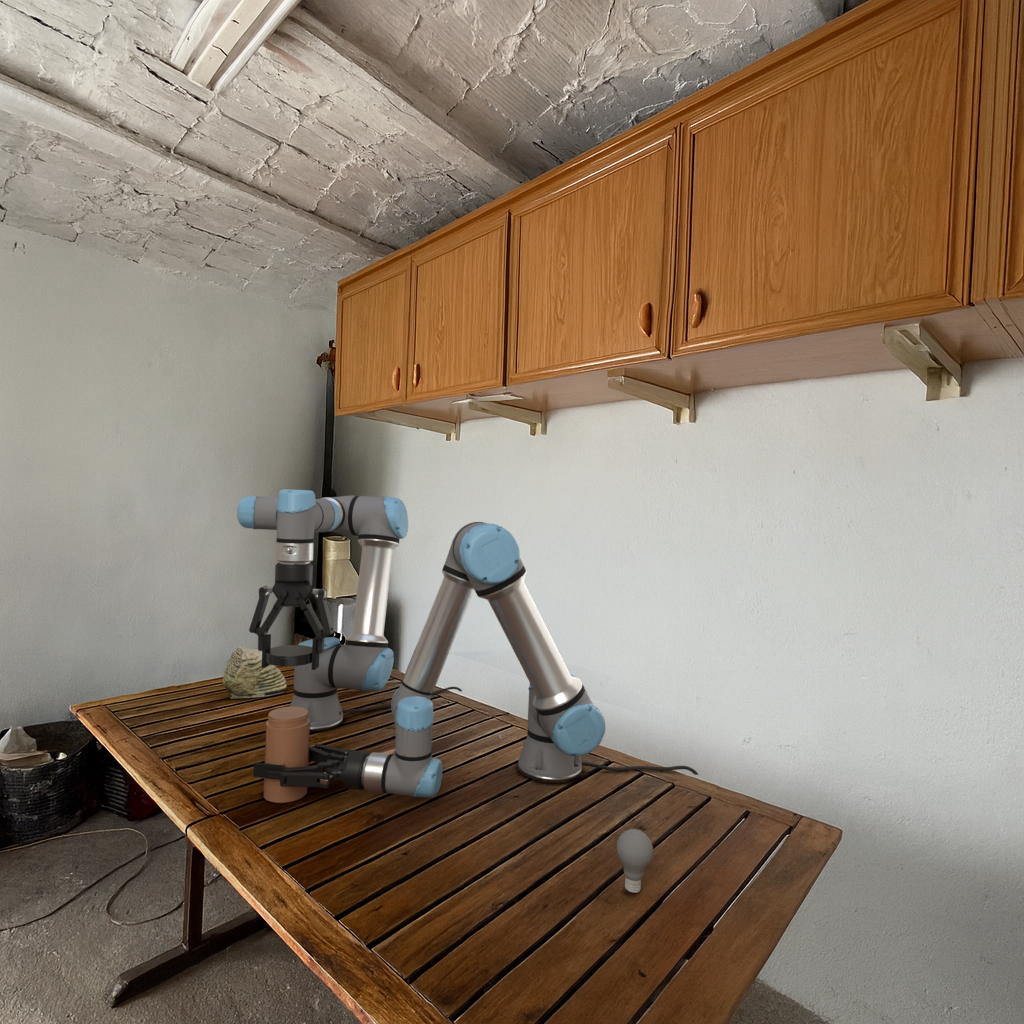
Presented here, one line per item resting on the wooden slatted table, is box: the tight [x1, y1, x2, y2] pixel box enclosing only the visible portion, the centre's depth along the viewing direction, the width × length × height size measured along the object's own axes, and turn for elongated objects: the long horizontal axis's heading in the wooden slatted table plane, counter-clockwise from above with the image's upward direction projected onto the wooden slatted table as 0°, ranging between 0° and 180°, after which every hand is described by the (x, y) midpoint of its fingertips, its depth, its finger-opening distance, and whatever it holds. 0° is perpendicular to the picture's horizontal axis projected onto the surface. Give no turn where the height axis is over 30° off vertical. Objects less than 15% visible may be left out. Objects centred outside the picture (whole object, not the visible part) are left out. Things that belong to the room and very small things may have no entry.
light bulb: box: [615, 828, 654, 894], centre depth 106 cm, size 6×6×10 cm
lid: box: [266, 644, 312, 667], centre depth 134 cm, size 10×10×2 cm
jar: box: [262, 706, 311, 804], centre depth 135 cm, size 9×9×17 cm
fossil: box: [222, 646, 288, 699], centre depth 198 cm, size 9×18×15 cm, turn 132°
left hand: (290, 667), depth 134 cm, fingers closed on lid, 10 cm apart
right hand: (266, 760), depth 135 cm, fingers closed on jar, 9 cm apart
